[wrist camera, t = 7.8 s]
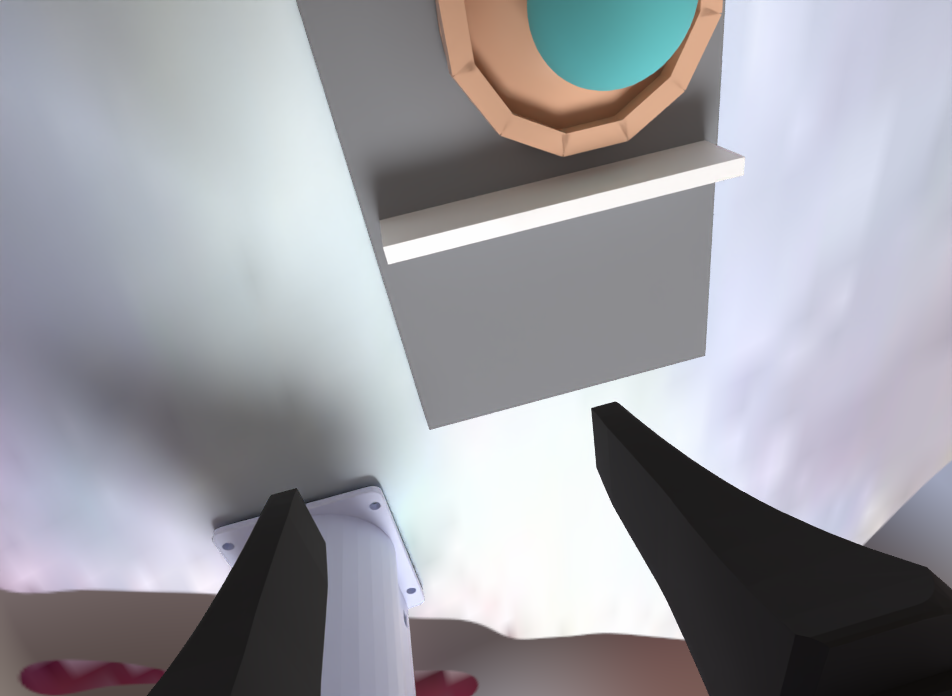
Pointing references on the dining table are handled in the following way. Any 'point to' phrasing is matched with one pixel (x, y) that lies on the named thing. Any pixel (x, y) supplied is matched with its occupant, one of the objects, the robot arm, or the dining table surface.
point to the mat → (518, 254)
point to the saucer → (554, 79)
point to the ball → (608, 38)
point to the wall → (557, 199)
